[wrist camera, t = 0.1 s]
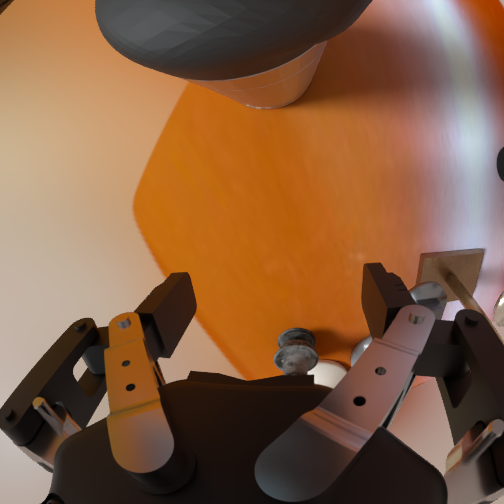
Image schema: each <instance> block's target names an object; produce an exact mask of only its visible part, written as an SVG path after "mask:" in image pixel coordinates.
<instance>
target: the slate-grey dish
mask: <svg viewBox="0 0 504 504" xmlns="http://www.w3.org/2000/svg"><path fill="white" fill-rule="evenodd" d="M371 342H372V337H371V335H369V336H367V337H366V338H364V339H363V340H362V341H360V342H359V343H358V344H357V345H356V347H355V348H354V349H353V351H352V354H351V366H353V365H354V364H355V362H356V361H357V360H358V359H359V357H360V356H361V355H362V353H363V352H364V351H365V350H366V348H367V347H368V346H369V344H370V343H371Z"/></svg>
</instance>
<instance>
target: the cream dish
mask: <svg viewBox="0 0 504 504" xmlns="http://www.w3.org/2000/svg"><path fill="white" fill-rule="evenodd" d="M346 373H347V370H346V368H345V367H344V366H343V365H341V364H340V363H338V362H335V361H332V360H326V359H319V361H318V363H317V365H316V366H315V368H313V369H312V370H310V371H308V375H312V374H314V383H315V384H320V385H324V386H328V387H331V388H333V389H334V388H335V386H336V385H337V384H338V383H339V382H340V381H341V379H342V378H343V377H344V376H345V375H346Z"/></svg>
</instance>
